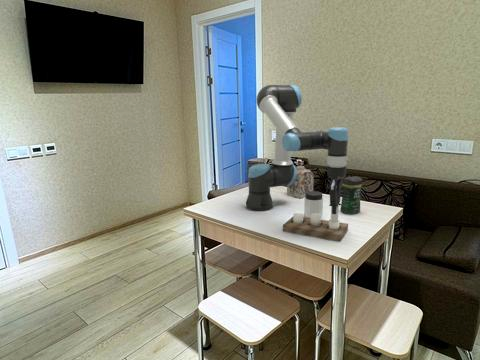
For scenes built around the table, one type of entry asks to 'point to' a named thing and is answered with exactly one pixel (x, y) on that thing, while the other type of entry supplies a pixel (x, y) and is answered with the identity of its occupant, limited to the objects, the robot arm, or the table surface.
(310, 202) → the jar
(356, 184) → the coffee jar
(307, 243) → the table surface
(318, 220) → the button middle
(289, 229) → the button board
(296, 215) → the button left
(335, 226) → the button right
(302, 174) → the decorative jar
